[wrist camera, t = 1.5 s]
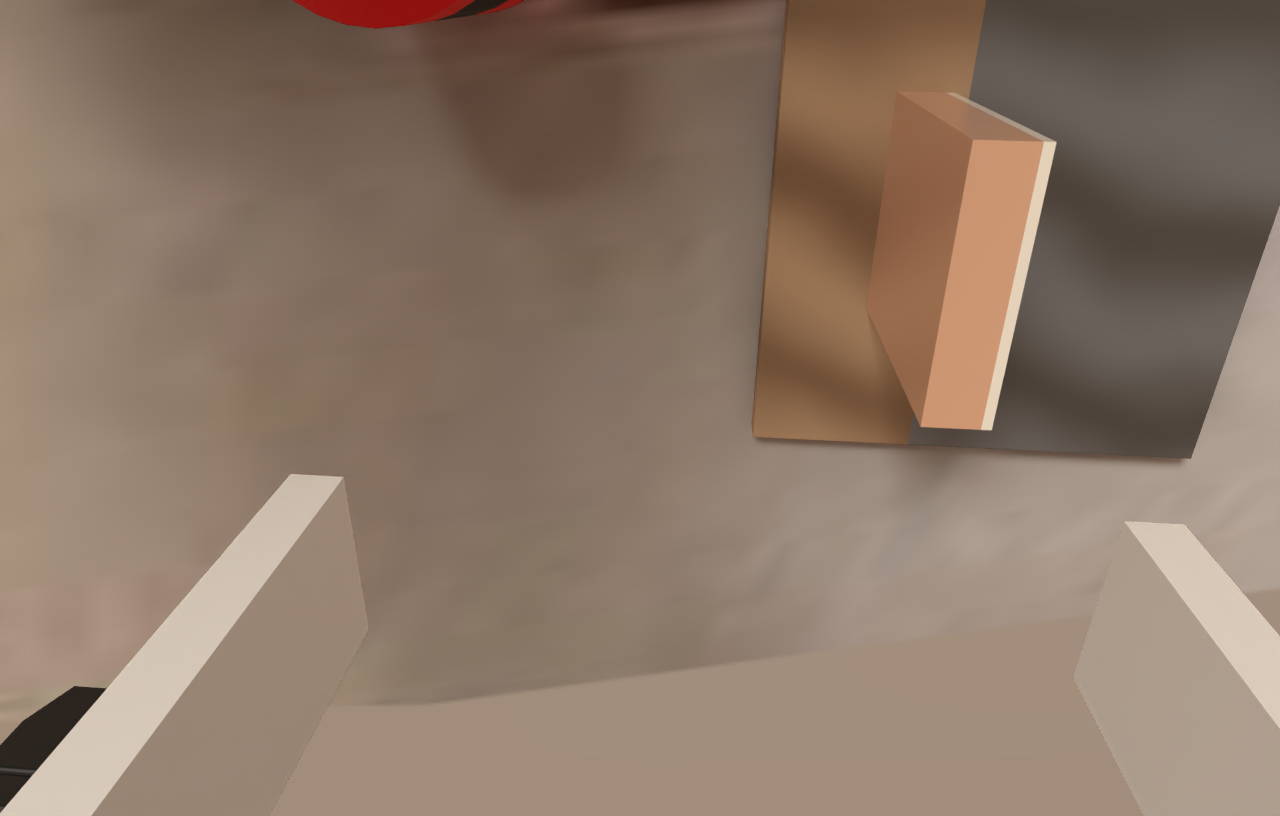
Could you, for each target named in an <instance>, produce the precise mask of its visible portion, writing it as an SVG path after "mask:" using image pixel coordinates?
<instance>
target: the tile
mask: <svg viewBox="0 0 1280 816" xmlns="http://www.w3.org/2000/svg"><path fill="white" fill-rule="evenodd" d="M1056 143H1057V142H1056V141H1054V140H1052V139H1050V138H1048V137H1045V136H1043V135H1041V134H1039V133H1037V132H1035V131H1033V130H1031V129H1029V128H1027V127H1025V126H1023V125H1021V124H1018V123H1016V122H1014V121H1012V120H1010V119H1008V118H1006V117H1004V116H1002V115H1000V114H998V113H996V112H994V111H992V110H989V109H987V108H985V107H983V106H981V105H979V104H977V103H975V102H973V101H971V100H969V99H967V98H965V97H963V96H960V95H958V94H956V93H937V92H897V94H896V101H895V108H894V115H893V122H892V129H891V136H890V143H889V151H888V158H887V165H886V172H885V179H884V186H883V193H882V200H881V208H880V215H879V222H878V229H877V236H876V243H875V250H874V257H873V265H872V272H871V279H870V286H869V293H868V300H867V307H866V308H867V310H868V312H869V314H870V317H871V319H872V321H873V323H874V325H875V328H876V330H877V332H878V334H879V336H880V339H881V341H882V343H883V345H884V347H885V350H886V352H887V354H888V356H889V358H890V361H891V363H892V365H893V367H894V369H895V372H896V374H897V376H898V378H899V380H900V383H901V385H902V387H903V389H904V391H905V394H906V396H907V398H908V400H909V402H910V405H911V407H912V409H913V411H914V413H915V416H916V418H917V420H918V422H919V424H920V427H933V428H953V429H974V430H992V427H993V422H994V418H995V413H996V409H997V405H998V400H999V396H1000V391H1001V387H1002V382H1003V378H1004V374H1005V369H1006V365H1007V360H1008V356H1009V351H1010V347H1011V342H1012V338H1013V334H1014V329H1015V325H1016V320H1017V316H1018V311H1019V307H1020V303H1021V298H1022V294H1023V289H1024V285H1025V280H1026V276H1027V272H1028V267H1029V263H1030V258H1031V254H1032V249H1033V245H1034V240H1035V236H1036V232H1037V227H1038V223H1039V218H1040V214H1041V209H1042V205H1043V201H1044V196H1045V192H1046V187H1047V183H1048V178H1049V174H1050V170H1051V165H1052V161H1053V156H1054V152H1055V147H1056Z"/></svg>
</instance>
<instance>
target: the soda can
mask: <svg viewBox="0 0 1280 816" xmlns="http://www.w3.org/2000/svg"><path fill="white" fill-rule="evenodd" d="M293 1H294V2H296V3H298V4H300V5H301V6H303V7H305V8H307V9H308V10H310V11H312V12H314V13H315V14H317V15H320V16H323V17H325V18H328V19H331V20H334V21H337V22H340V23H343V24H346V25H353V26H360V27H368V28H385V27H396V26H405V25H412V24H419V23H425V22H432V21H438V20H445V19H451V18H458V17H464V16H471V15H478V14H484V13H491V12H497V11H500V10H503V9H506V8H509V7H512V6H515V5H517V4H519V3H520V2H522V1H524V0H293Z"/></svg>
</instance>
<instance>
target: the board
mask: <svg viewBox="0 0 1280 816" xmlns="http://www.w3.org/2000/svg"><path fill="white" fill-rule="evenodd" d="M897 92H937V93H956V94H958V95H960V96H963V97H965V98H967V99H969V100H971V101H973V102H975V103H977V104H979V105H981V106H983V107H985V108H987V109H989V110H992V111H994V112H996V113H998V114H1000V115H1002V116H1004V117H1006V118H1008V119H1010V120H1012V121H1014V122H1016V123H1018V124H1021V125H1023V126H1025V127H1027V128H1029V129H1031V130H1033V131H1035V132H1037V133H1039V134H1041V135H1043V136H1045V137H1048V138H1050V139H1052V140H1054V141H1056V142H1057V143H1056V147H1055V152H1054V156H1053V161H1052V165H1051V170H1050V174H1049V178H1048V183H1047V187H1046V192H1045V196H1044V201H1043V205H1042V209H1041V214H1040V218H1039V223H1038V227H1037V232H1036V236H1035V240H1034V245H1033V249H1032V254H1031V258H1030V263H1029V267H1028V272H1027V276H1026V280H1025V285H1024V289H1023V294H1022V298H1021V303H1020V307H1019V311H1018V316H1017V320H1016V325H1015V329H1014V334H1013V338H1012V342H1011V347H1010V351H1009V356H1008V360H1007V365H1006V369H1005V374H1004V378H1003V382H1002V387H1001V391H1000V396H999V400H998V405H997V409H996V413H995V418H994V422H993V427H992V430H974V429H953V428H933V427H920V424H919V422H918V420H917V418H916V416H915V413H914V411H913V409H912V407H911V405H910V402H909V400H908V398H907V396H906V394H905V391H904V389H903V387H902V385H901V383H900V380H899V378H898V376H897V374H896V372H895V369H894V367H893V365H892V363H891V361H890V358H889V356H888V354H887V352H886V350H885V347H884V345H883V343H882V341H881V339H880V336H879V334H878V332H877V330H876V328H875V325H874V323H873V321H872V319H871V317H870V314H869V312H868V310H867V308H866V307H867V300H868V293H869V286H870V279H871V272H872V265H873V257H874V250H875V243H876V236H877V229H878V222H879V215H880V208H881V200H882V193H883V186H884V179H885V172H886V165H887V158H888V151H889V143H890V136H891V129H892V122H893V115H894V108H895V101H896V94H897ZM1279 206H1280V0H786V11H785V23H784V35H783V47H782V60H781V72H780V84H779V96H778V109H777V121H776V133H775V145H774V158H773V170H772V182H771V194H770V207H769V219H768V231H767V243H766V256H765V268H764V280H763V292H762V305H761V317H760V329H759V341H758V354H757V366H756V378H755V390H754V403H753V415H752V433H753V437H767V438H787V439H807V440H827V441H847V442H867V443H887V444H908V445H928V446H948V447H968V448H988V449H1008V450H1028V451H1048V452H1068V453H1088V454H1109V455H1129V456H1149V457H1169V458H1189V459H1191V457H1192V454H1193V451H1194V448H1195V445H1196V442H1197V440H1198V437H1199V434H1200V431H1201V428H1202V425H1203V422H1204V420H1205V417H1206V414H1207V411H1208V408H1209V405H1210V402H1211V400H1212V397H1213V394H1214V391H1215V388H1216V385H1217V383H1218V380H1219V377H1220V374H1221V371H1222V368H1223V365H1224V363H1225V360H1226V357H1227V354H1228V351H1229V348H1230V345H1231V343H1232V340H1233V337H1234V334H1235V331H1236V328H1237V325H1238V323H1239V320H1240V317H1241V314H1242V311H1243V308H1244V305H1245V303H1246V300H1247V297H1248V294H1249V291H1250V288H1251V286H1252V283H1253V280H1254V277H1255V274H1256V271H1257V268H1258V266H1259V263H1260V260H1261V257H1262V254H1263V251H1264V248H1265V246H1266V243H1267V240H1268V237H1269V234H1270V231H1271V228H1272V226H1273V223H1274V220H1275V217H1276V214H1277V211H1278V208H1279Z"/></svg>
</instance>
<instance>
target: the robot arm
mask: <svg viewBox="0 0 1280 816" xmlns="http://www.w3.org/2000/svg"><path fill="white" fill-rule="evenodd" d="M368 630H369V627H368V621H367V615H366V609H365V603H364V597H363V591H362V585H361V579H360V572H359V566H358V560H357V554H356V548H355V542H354V536H353V530H352V524H351V518H350V512H349V505H348V499H347V493H346V487H345V481H344V477H335V476H317V475H300V474H290V475H289V477H288V478H287V479H286V480H285V481H284V482H283V484H282V485H281V486H280V487H279V488H278V489H277V491H276V492H275V493H274V494H273V495H272V496H271V498H270V499H269V500H268V501H267V502H266V503H265V505H264V506H263V507H262V508H261V509H260V510H259V512H258V513H257V514H256V515H255V516H254V517H253V519H252V520H251V521H250V522H249V523H248V524H247V526H246V527H245V528H244V529H243V530H242V531H241V533H240V534H239V535H238V536H237V537H236V538H235V540H234V541H233V542H232V543H231V544H230V545H229V547H228V548H227V549H226V550H225V551H224V553H223V554H222V555H221V556H220V557H219V558H218V560H217V561H216V562H215V563H214V564H213V565H212V567H211V568H210V569H209V570H208V571H207V572H206V574H205V575H204V576H203V577H202V578H201V579H200V581H199V582H198V583H197V584H196V585H195V586H194V588H193V589H192V590H191V591H190V592H189V593H188V595H187V596H186V597H185V598H184V599H183V600H182V602H181V603H180V604H179V605H178V606H177V607H176V609H175V610H174V611H173V612H172V613H171V614H170V616H169V617H168V618H167V619H166V620H165V621H164V623H163V624H162V625H161V626H160V627H159V628H158V630H157V631H156V632H155V633H154V634H153V635H152V637H151V638H150V639H149V640H148V641H147V642H146V644H145V645H144V646H143V647H142V648H141V649H140V651H139V652H138V653H137V654H136V655H135V656H134V658H133V659H132V660H131V661H130V662H129V663H128V665H127V666H126V667H125V668H124V669H123V670H122V672H121V673H120V674H119V675H118V676H117V677H116V679H115V680H114V681H113V682H112V683H111V684H110V686H109V687H108V688H107V689H105V688H91V687H78V686H74V687H73V688H71V689H70V690H68V691H67V692H65V693H64V694H62V695H61V696H59V697H58V698H56V699H55V700H53V701H52V702H50V703H49V704H47V705H46V706H44V707H43V708H41V709H40V710H39V711H37V712H36V713H34V714H33V715H31V716H30V717H28V718H27V719H25V720H24V721H22V723H21V724H20V725H19V726H18V727H17V728H16V729H15V730H14V731H13V732H12V733H11V734H10V735H9V737H8V738H7V739H6V740H5V741H4V742H3V743H2V744H1V745H0V816H270V814H271V812H272V810H273V808H274V807H275V805H276V803H277V801H278V799H279V797H280V795H281V794H282V792H283V790H284V788H285V786H286V784H287V782H288V780H289V779H290V777H291V775H292V773H293V771H294V769H295V767H296V765H297V763H298V762H299V760H300V758H301V756H302V754H303V752H304V750H305V748H306V747H307V745H308V743H309V741H310V739H311V737H312V735H313V733H314V732H315V730H316V728H317V726H318V724H319V722H320V720H321V718H322V716H323V715H324V713H325V711H326V709H327V707H328V705H329V703H330V702H331V700H332V698H333V696H334V694H335V692H336V690H337V688H338V687H339V685H340V683H341V681H342V679H343V677H344V675H345V673H346V672H347V670H348V668H349V666H350V664H351V662H352V660H353V658H354V657H355V655H356V653H357V651H358V649H359V647H360V645H361V643H362V642H363V640H364V638H365V636H366V634H367V632H368ZM1073 678H1074V680H1075V682H1076V684H1077V686H1078V688H1079V690H1080V692H1081V694H1082V696H1083V698H1084V700H1085V702H1086V704H1087V706H1088V708H1089V710H1090V712H1091V714H1092V716H1093V718H1094V720H1095V722H1096V723H1097V725H1098V727H1099V729H1100V731H1101V733H1102V735H1103V737H1104V739H1105V741H1106V743H1107V745H1108V747H1109V749H1110V751H1111V753H1112V755H1113V757H1114V759H1115V761H1116V763H1117V765H1118V767H1119V769H1120V771H1121V773H1122V775H1123V777H1124V778H1125V780H1126V782H1127V784H1128V786H1129V788H1130V790H1131V792H1132V794H1133V796H1134V798H1135V800H1136V802H1137V804H1138V806H1139V808H1140V810H1141V812H1142V814H1143V816H1280V636H1279V635H1278V634H1277V633H1276V631H1275V630H1274V629H1273V628H1272V627H1271V626H1270V624H1269V623H1268V622H1267V621H1266V620H1265V619H1264V617H1263V616H1262V615H1261V614H1260V613H1259V612H1258V610H1257V609H1256V608H1255V607H1254V606H1253V605H1252V603H1251V602H1250V601H1249V600H1248V599H1247V597H1246V596H1245V595H1244V594H1243V593H1242V592H1241V590H1240V589H1239V588H1238V587H1237V586H1236V585H1235V583H1234V582H1233V581H1232V580H1231V579H1230V578H1229V576H1228V575H1227V574H1226V573H1225V572H1224V571H1223V569H1222V568H1221V567H1220V566H1219V565H1218V563H1217V562H1216V561H1215V560H1214V559H1213V558H1212V556H1211V555H1210V554H1209V553H1208V552H1207V551H1206V549H1205V548H1204V547H1203V546H1202V545H1201V544H1200V542H1199V541H1198V540H1197V539H1196V538H1195V537H1194V535H1193V534H1192V533H1191V532H1190V531H1189V530H1188V528H1187V527H1186V526H1185V525H1181V524H1164V523H1146V522H1128V521H1124V523H1123V526H1122V530H1121V533H1120V536H1119V539H1118V542H1117V545H1116V548H1115V551H1114V554H1113V557H1112V560H1111V563H1110V566H1109V569H1108V572H1107V576H1106V579H1105V582H1104V585H1103V588H1102V591H1101V594H1100V597H1099V600H1098V603H1097V606H1096V609H1095V612H1094V615H1093V618H1092V622H1091V625H1090V628H1089V631H1088V634H1087V637H1086V640H1085V643H1084V646H1083V649H1082V652H1081V655H1080V658H1079V661H1078V665H1077V667H1076V671H1075V674H1074V677H1073Z"/></svg>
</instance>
